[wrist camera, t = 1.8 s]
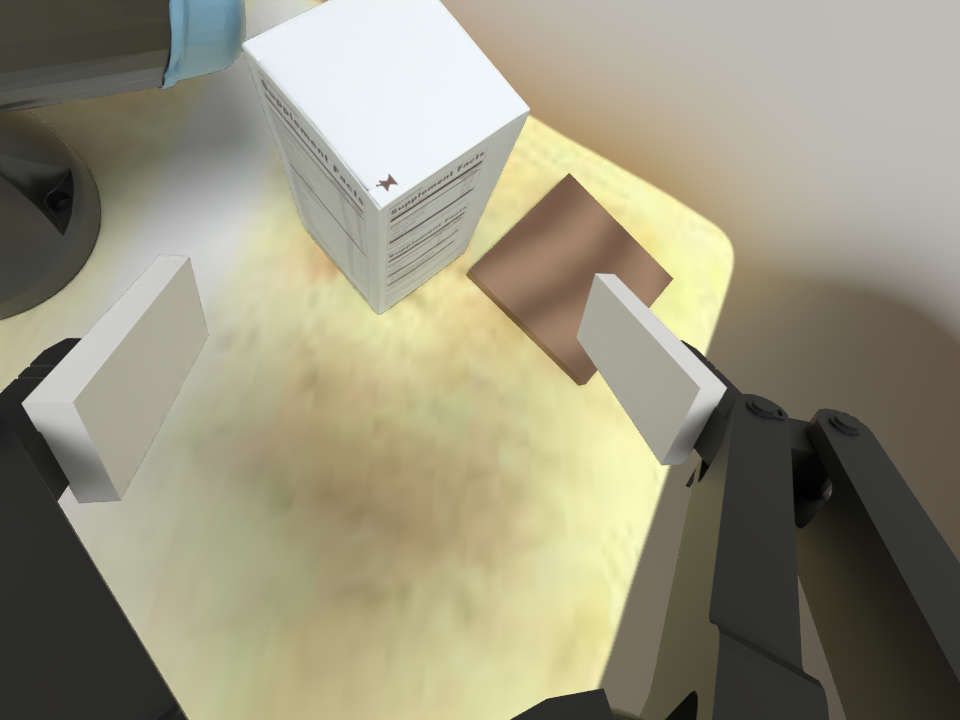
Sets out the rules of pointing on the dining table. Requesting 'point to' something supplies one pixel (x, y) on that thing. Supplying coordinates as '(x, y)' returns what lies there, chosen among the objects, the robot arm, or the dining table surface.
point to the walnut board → (563, 271)
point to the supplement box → (385, 134)
